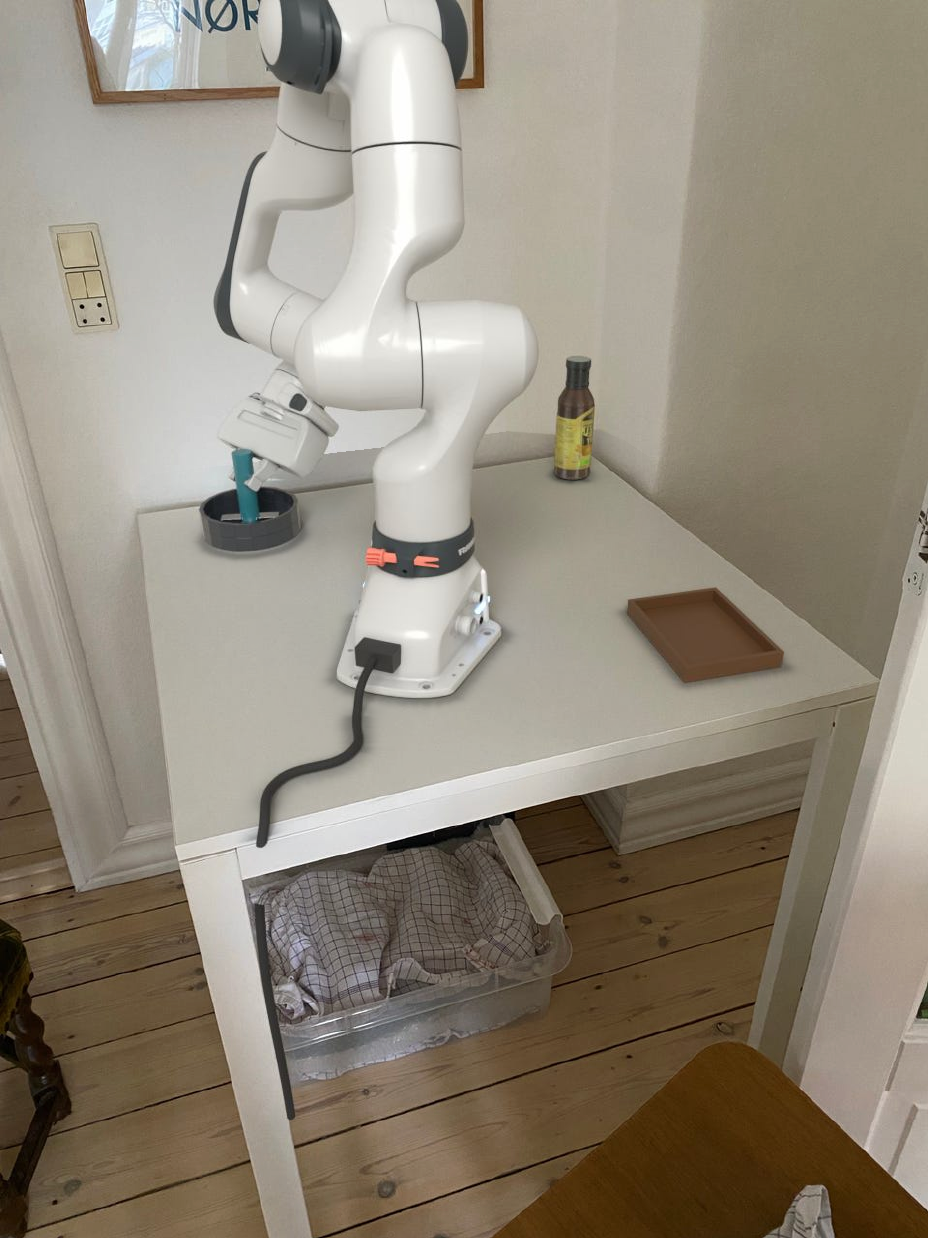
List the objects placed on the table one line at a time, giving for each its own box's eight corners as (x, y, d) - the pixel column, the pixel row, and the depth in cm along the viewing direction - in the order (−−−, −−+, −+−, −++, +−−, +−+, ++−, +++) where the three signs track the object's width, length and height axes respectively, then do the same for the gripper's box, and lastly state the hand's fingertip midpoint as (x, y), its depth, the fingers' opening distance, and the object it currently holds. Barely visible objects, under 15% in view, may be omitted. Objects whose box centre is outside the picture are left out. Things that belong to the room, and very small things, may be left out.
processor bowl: (277, 560, 131) (273, 528, 128) (186, 550, 134) (181, 519, 131) (315, 520, 143) (312, 490, 140) (231, 512, 146) (227, 482, 143)
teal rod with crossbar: (277, 529, 133) (268, 460, 128) (218, 532, 133) (207, 463, 128) (281, 507, 141) (273, 441, 135) (225, 510, 140) (215, 443, 135)
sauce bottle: (586, 483, 155) (593, 364, 145) (550, 479, 156) (554, 362, 146) (593, 470, 160) (601, 354, 150) (558, 466, 162) (563, 352, 152)
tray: (781, 667, 106) (784, 651, 105) (684, 683, 103) (686, 667, 102) (713, 601, 119) (716, 587, 118) (626, 613, 117) (627, 599, 116)
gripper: (236, 378, 139) (188, 456, 137) (318, 406, 126) (266, 492, 125) (265, 401, 143) (219, 477, 142) (346, 430, 131) (297, 513, 130)
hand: (242, 484), depth 133 cm, fingers closed on teal rod with crossbar, 3 cm apart
